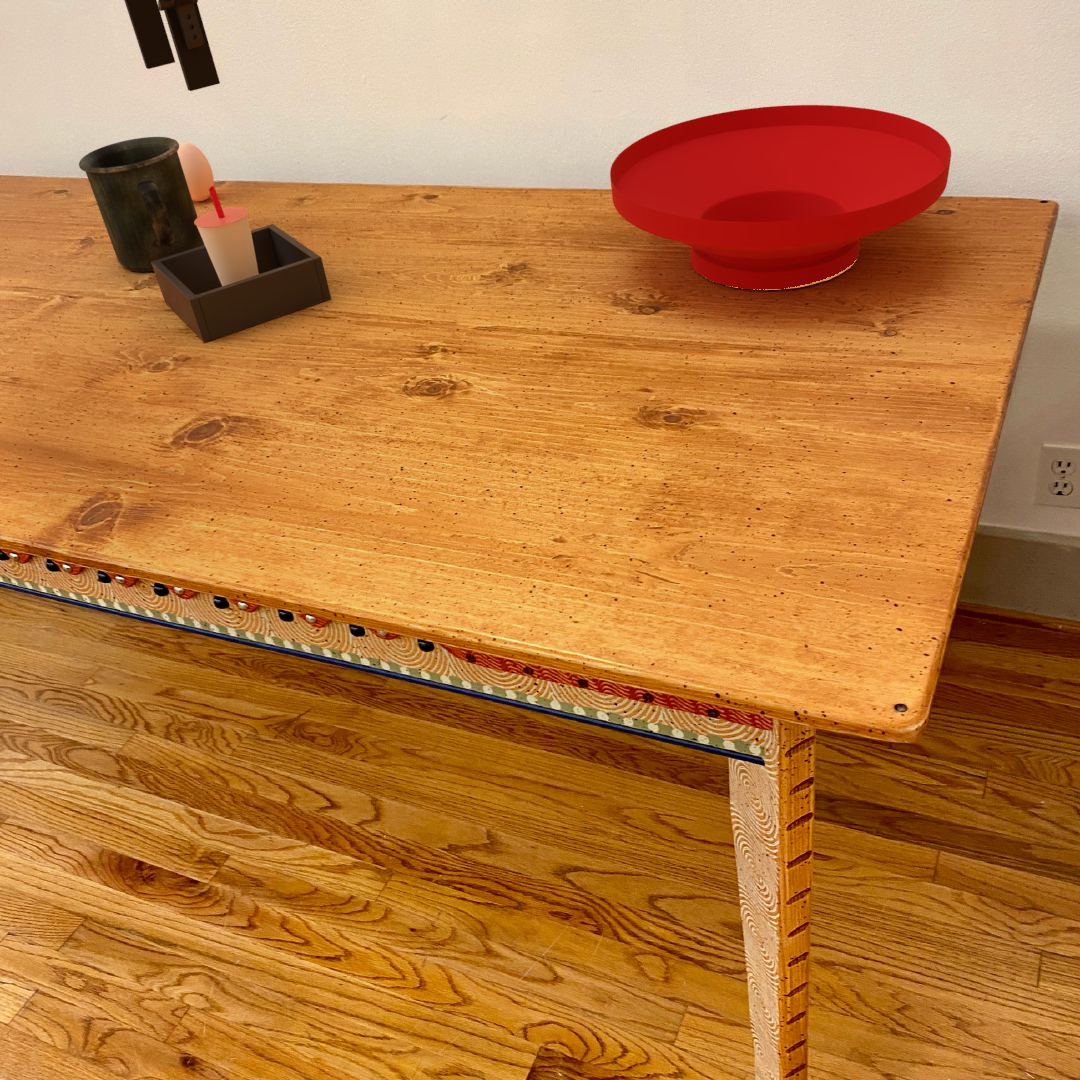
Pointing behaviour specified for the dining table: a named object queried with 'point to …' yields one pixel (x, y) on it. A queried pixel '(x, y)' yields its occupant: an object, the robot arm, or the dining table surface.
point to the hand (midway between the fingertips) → (181, 75)
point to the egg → (196, 171)
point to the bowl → (779, 188)
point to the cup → (228, 241)
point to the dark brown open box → (242, 285)
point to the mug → (143, 200)
